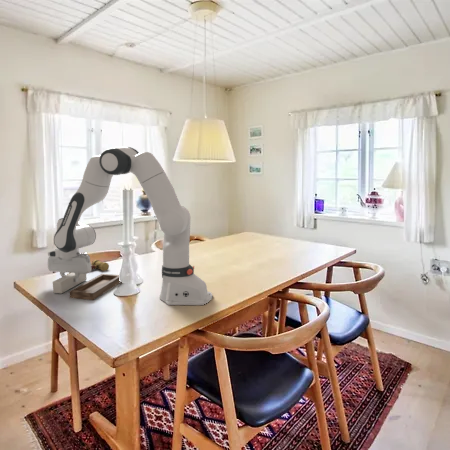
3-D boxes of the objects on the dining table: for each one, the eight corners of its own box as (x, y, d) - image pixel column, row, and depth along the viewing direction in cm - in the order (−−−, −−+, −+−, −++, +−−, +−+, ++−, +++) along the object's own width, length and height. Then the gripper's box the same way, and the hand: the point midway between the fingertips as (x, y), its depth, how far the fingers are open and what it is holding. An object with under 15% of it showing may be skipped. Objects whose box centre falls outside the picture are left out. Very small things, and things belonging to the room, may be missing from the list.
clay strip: (86, 279, 175) (86, 269, 174) (61, 293, 155) (61, 282, 154) (79, 279, 175) (78, 269, 174) (53, 292, 156) (52, 281, 155)
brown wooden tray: (122, 281, 174) (122, 275, 174) (93, 300, 149) (93, 293, 148) (102, 279, 176) (101, 273, 176) (69, 298, 151) (69, 291, 151)
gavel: (71, 272, 177) (61, 268, 184) (72, 281, 178) (62, 277, 185) (108, 261, 193) (98, 258, 199) (109, 270, 194) (99, 266, 200)
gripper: (93, 251, 164) (94, 280, 166) (53, 249, 168) (55, 278, 170) (85, 254, 158) (87, 285, 160) (44, 252, 162) (46, 282, 164)
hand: (70, 281), depth 165 cm, fingers closed on clay strip, 4 cm apart
